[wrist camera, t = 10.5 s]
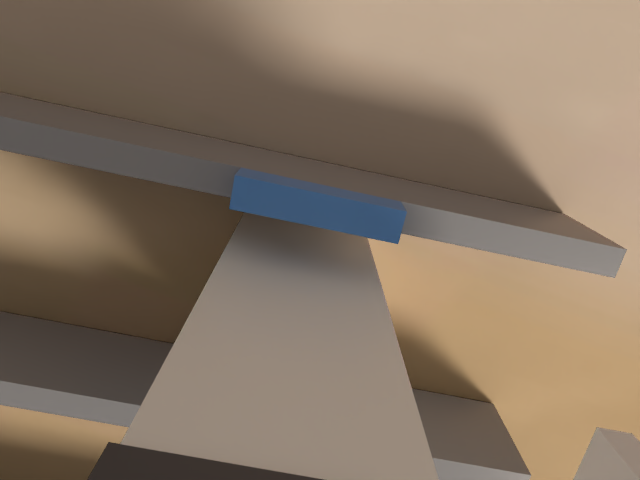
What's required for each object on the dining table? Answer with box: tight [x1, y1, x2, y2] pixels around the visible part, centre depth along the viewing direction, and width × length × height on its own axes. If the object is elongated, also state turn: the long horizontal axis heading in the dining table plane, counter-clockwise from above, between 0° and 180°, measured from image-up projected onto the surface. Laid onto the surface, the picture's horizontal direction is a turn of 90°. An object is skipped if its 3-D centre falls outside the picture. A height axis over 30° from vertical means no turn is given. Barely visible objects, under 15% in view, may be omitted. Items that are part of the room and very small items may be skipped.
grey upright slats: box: [0, 92, 627, 480], centre depth 16 cm, size 24×15×4 cm, turn 78°
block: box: [87, 212, 439, 480], centre depth 11 cm, size 4×4×12 cm
